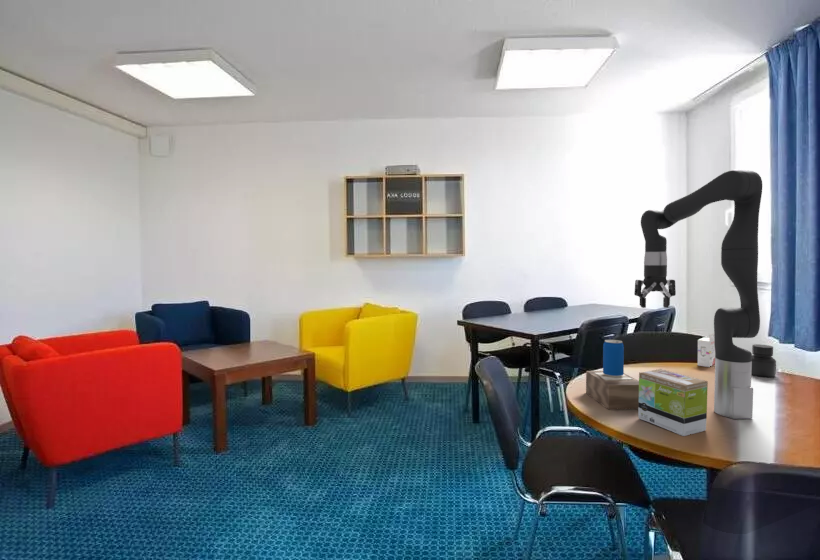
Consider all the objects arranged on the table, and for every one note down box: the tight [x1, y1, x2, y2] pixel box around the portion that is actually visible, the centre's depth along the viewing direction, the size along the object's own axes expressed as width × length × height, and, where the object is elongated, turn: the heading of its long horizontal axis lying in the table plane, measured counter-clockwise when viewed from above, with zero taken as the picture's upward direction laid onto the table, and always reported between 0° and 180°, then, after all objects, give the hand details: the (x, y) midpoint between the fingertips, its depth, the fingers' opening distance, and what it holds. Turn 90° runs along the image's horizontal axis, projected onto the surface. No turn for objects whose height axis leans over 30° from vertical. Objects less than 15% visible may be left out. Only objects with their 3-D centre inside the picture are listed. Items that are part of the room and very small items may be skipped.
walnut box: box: [585, 370, 639, 410], centre depth 157 cm, size 18×12×8 cm, turn 1°
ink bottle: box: [751, 343, 777, 378], centre depth 187 cm, size 10×9×12 cm
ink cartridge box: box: [697, 331, 716, 368], centre depth 205 cm, size 9×5×15 cm, turn 132°
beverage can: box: [602, 339, 625, 377], centre depth 157 cm, size 6×6×12 cm
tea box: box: [637, 368, 709, 437], centre depth 134 cm, size 15×10×15 cm
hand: (654, 307), depth 171 cm, fingers open, 8 cm apart
